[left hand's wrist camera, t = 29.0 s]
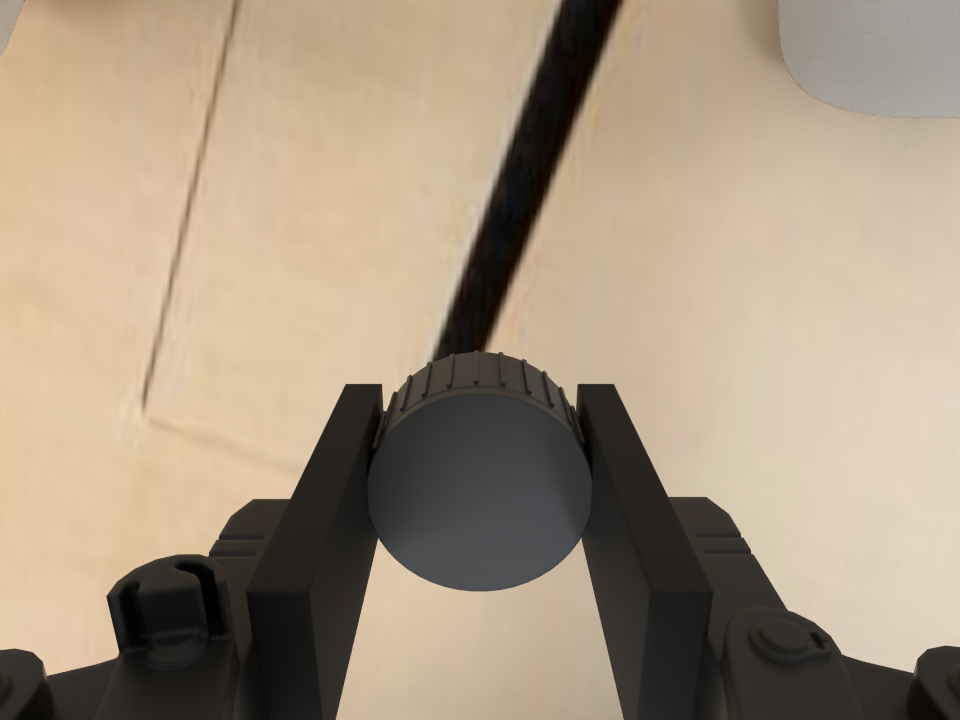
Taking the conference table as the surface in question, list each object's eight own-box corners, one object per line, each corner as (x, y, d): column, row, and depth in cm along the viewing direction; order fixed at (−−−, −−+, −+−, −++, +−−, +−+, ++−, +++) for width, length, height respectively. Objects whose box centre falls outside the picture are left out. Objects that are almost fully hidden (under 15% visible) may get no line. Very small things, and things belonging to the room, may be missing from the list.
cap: (396, 329, 14) (381, 368, 12) (603, 369, 14) (625, 415, 12) (364, 510, 15) (347, 574, 13) (553, 543, 15) (565, 610, 13)
